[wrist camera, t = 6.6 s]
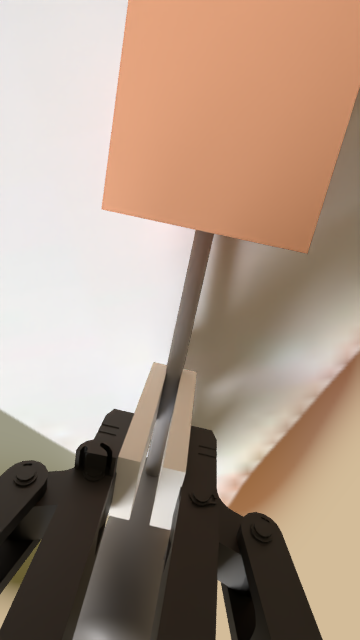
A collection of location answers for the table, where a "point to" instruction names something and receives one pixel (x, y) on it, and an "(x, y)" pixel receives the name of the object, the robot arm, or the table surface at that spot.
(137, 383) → the table surface
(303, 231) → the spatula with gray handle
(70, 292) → the table surface
